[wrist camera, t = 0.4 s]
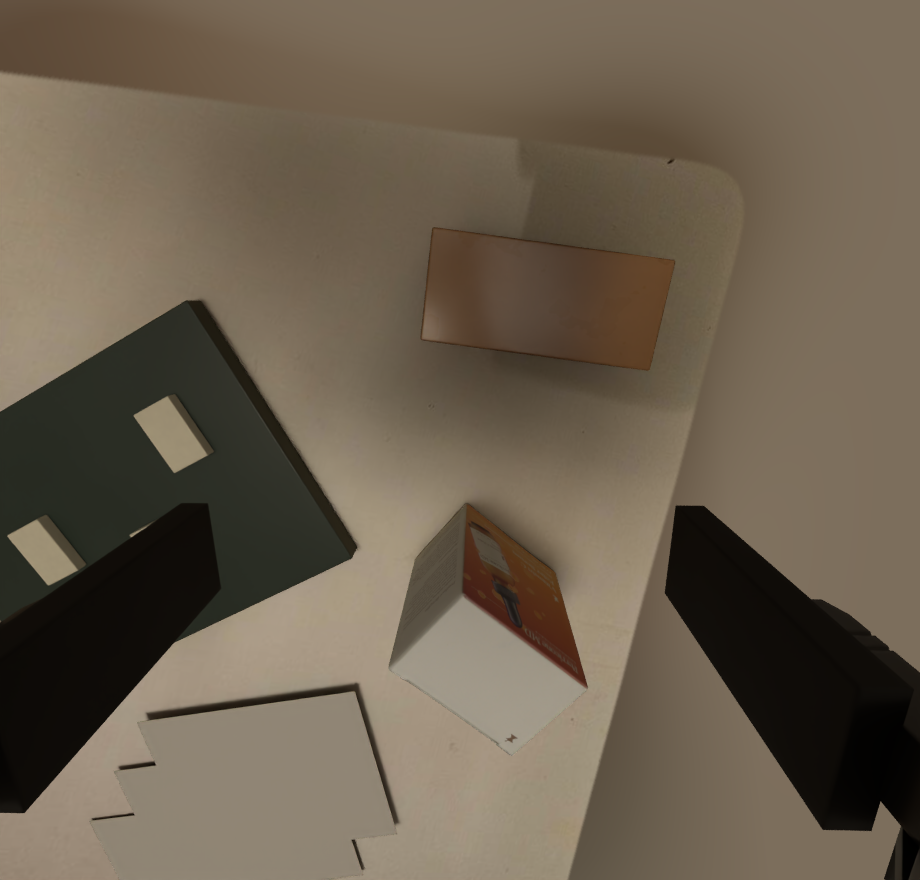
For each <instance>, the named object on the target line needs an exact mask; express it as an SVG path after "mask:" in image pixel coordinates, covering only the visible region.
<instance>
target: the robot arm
mask: <svg viewBox="0 0 920 880" xmlns="http://www.w3.org/2000/svg"><path fill="white" fill-rule="evenodd" d="M220 590H221V583H220V577H219V570H218V564H217V557H216V551H215V545H214V538H213V532H212V525H211V519H210V513H209V506H208V503H181V504H179V505H178V506H176V507H175V508H173V509H172V510H170V511H169V512H168V513H166V514H165V515H163V516H162V517H160V518H159V519H157V520H156V521H154V522H153V523H152V524H150V525H149V526H147V527H146V528H144V529H143V530H141V531H140V532H138V533H137V534H135V535H134V536H133V537H131V538H130V539H128V540H127V541H125V542H124V543H122V544H121V545H119V546H118V547H117V548H115V549H114V550H112V551H111V552H109V553H108V554H106V555H105V556H103V557H102V558H101V559H99V560H98V561H96V562H95V563H93V564H92V565H90V566H89V567H87V568H86V569H84V570H83V571H82V572H80V573H79V574H77V575H76V576H74V577H73V578H71V579H70V580H68V581H67V582H66V583H64V584H63V585H61V586H60V587H58V588H57V589H55V590H54V591H52V592H51V593H50V594H48V595H47V596H45V597H44V598H42V599H40V600H37V601H35V602H33V603H31V604H29V605H27V606H25V607H22V608H21V609H19V610H18V611H17V612H15V613H14V614H12V615H11V616H9V617H8V618H6V619H5V620H3V621H2V622H0V813H25V812H26V811H27V809H28V808H29V807H30V806H31V805H32V804H33V803H34V801H35V800H36V799H37V798H38V797H39V796H40V795H41V793H42V792H43V791H44V790H45V789H46V788H47V787H48V786H49V784H50V783H51V782H52V781H53V780H54V779H55V778H56V776H57V775H58V774H59V773H60V772H61V771H62V770H63V768H64V767H65V766H66V765H67V764H68V763H69V762H70V760H71V759H72V758H73V757H74V756H75V755H76V754H77V752H78V751H79V750H80V749H81V748H82V747H83V746H84V745H85V743H86V742H87V741H88V740H89V739H90V738H91V737H92V735H93V734H94V733H95V732H96V731H97V730H98V729H99V727H100V726H101V725H102V724H103V723H104V722H105V721H106V719H107V718H108V717H109V716H110V715H111V714H112V713H113V712H114V710H115V709H116V708H117V707H118V706H119V705H120V704H121V702H122V701H123V700H124V699H125V698H126V697H127V696H128V694H129V693H130V692H131V691H132V690H133V689H134V688H135V686H136V685H137V684H138V683H139V682H140V681H141V680H142V678H143V677H144V676H145V675H146V674H147V673H148V672H149V671H150V669H151V668H152V667H153V666H154V665H155V664H156V663H157V661H158V660H159V659H160V658H161V657H162V656H163V655H164V653H165V652H166V651H167V650H168V649H169V648H170V647H171V645H172V644H173V643H174V642H175V641H176V640H177V639H178V638H179V636H180V635H181V634H182V633H183V632H184V631H185V630H186V628H187V627H188V626H189V625H190V624H191V623H192V622H193V620H194V619H195V618H196V617H197V616H198V615H199V614H200V612H201V611H202V610H203V609H204V608H205V607H206V606H207V605H208V603H209V602H210V601H211V600H212V599H213V598H214V597H215V595H216V594H217V593H218V592H219V591H220ZM665 594H666V595H667V597H668V598H669V600H670V601H671V603H672V604H673V606H674V607H675V609H676V610H677V612H678V613H679V615H680V616H681V618H682V619H683V621H684V622H685V624H686V625H687V627H688V628H689V630H690V631H691V633H692V634H693V636H694V637H695V639H696V640H697V642H698V643H699V645H700V646H701V648H702V649H703V651H704V652H705V654H706V655H707V657H708V658H709V660H710V661H711V663H712V664H713V666H714V667H715V669H716V670H717V672H718V673H719V675H720V676H721V678H722V679H723V681H724V682H725V684H726V685H727V687H728V688H729V690H730V691H731V693H732V694H733V696H734V697H735V699H736V700H737V702H738V703H739V705H740V706H741V708H742V709H743V711H744V712H745V714H746V715H747V717H748V718H749V720H750V721H751V723H752V724H753V726H754V727H755V729H756V730H757V732H758V733H759V735H760V736H761V738H762V739H763V741H764V742H765V744H766V745H767V747H768V748H769V750H770V751H771V753H772V754H773V756H774V757H775V759H776V760H777V762H778V763H779V765H780V766H781V768H782V769H783V771H784V772H785V774H786V775H787V777H788V778H789V780H790V781H791V783H792V784H793V786H794V787H795V789H796V790H797V792H798V793H799V795H800V796H801V798H802V799H803V800H804V802H805V804H806V805H807V807H808V808H809V810H810V811H811V813H812V814H813V816H814V817H815V819H816V820H817V822H818V823H819V825H820V826H821V828H822V829H823V830H855V831H856V830H857V831H872V827H873V824H874V821H875V817H876V814H877V811H878V808H879V804H880V801H881V802H882V803H883V804H884V806H885V807H886V808H887V809H888V810H889V812H890V813H891V814H892V815H893V816H894V818H895V819H896V820H897V821H898V823H899V824H900V825H901V828H900V831H899V834H898V837H897V840H896V844H895V847H894V850H893V853H892V856H891V859H890V862H889V865H888V868H887V871H886V874H885V877H884V879H885V880H920V672H918V671H917V670H916V669H915V668H914V667H912V666H911V665H910V664H909V663H908V662H906V661H905V660H904V659H903V658H901V657H900V656H899V655H898V654H897V653H895V652H894V651H890V650H889V647H888V646H887V645H886V644H884V643H883V642H882V641H881V640H880V639H878V638H877V637H876V636H872V635H871V633H870V631H868V630H867V629H866V628H865V627H864V626H863V625H861V624H860V623H859V622H858V621H857V620H855V619H854V618H853V617H852V616H850V615H849V614H847V613H845V612H843V611H842V610H840V609H838V608H836V607H834V606H832V605H831V604H829V603H827V602H825V601H823V600H814V599H810V598H809V597H807V595H805V594H804V593H803V592H802V591H801V590H799V588H797V587H796V586H795V585H794V584H793V583H792V582H790V581H789V580H788V579H787V578H786V577H785V576H784V575H783V574H781V573H780V572H779V571H778V570H777V569H776V568H775V567H773V566H772V565H771V564H770V563H768V561H766V560H765V559H764V558H763V557H762V556H761V555H760V554H758V553H757V552H756V551H755V550H754V549H753V548H751V547H750V546H749V545H748V544H747V543H746V542H745V541H744V540H742V539H741V538H740V537H739V536H738V535H737V534H735V533H734V532H733V531H732V530H731V529H730V528H729V527H727V526H726V525H725V524H724V523H723V522H722V521H721V520H719V519H718V518H717V517H716V516H715V515H714V514H712V513H711V512H710V511H709V510H708V509H707V508H706V507H704V506H676V508H675V516H674V524H673V532H672V540H671V548H670V556H669V564H668V571H667V579H666V587H665Z"/></svg>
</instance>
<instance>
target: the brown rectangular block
mask: <svg viewBox="0 0 920 880" xmlns="http://www.w3.org/2000/svg"><path fill="white" fill-rule="evenodd" d="M674 265H675V261H674V260H670V259H662V258H655V257H648V256H640V255H633V254H626V253H619V252H611V251H604V250H597V249H589V248H582V247H575V246H568V245H560V244H553V243H546V242H538V241H531V240H524V239H517V238H509V237H502V236H495V235H487V234H480V233H473V232H466V231H458V230H451V229H444V228H436V227H433V228H432V234H431V244H430V253H429V263H428V272H427V281H426V291H425V300H424V310H423V319H422V329H421V340H423V341H430V342H437V343H445V344H452V345H460V346H467V347H475V348H482V349H490V350H497V351H504V352H512V353H519V354H527V355H534V356H542V357H549V358H557V359H564V360H571V361H579V362H586V363H594V364H601V365H609V366H616V367H624V368H631V369H638V370H646V371H648V370H650V366H651V362H652V358H653V354H654V349H655V345H656V341H657V337H658V333H659V328H660V324H661V320H662V316H663V311H664V307H665V303H666V299H667V294H668V290H669V286H670V282H671V278H672V273H673V269H674Z"/></svg>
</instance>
